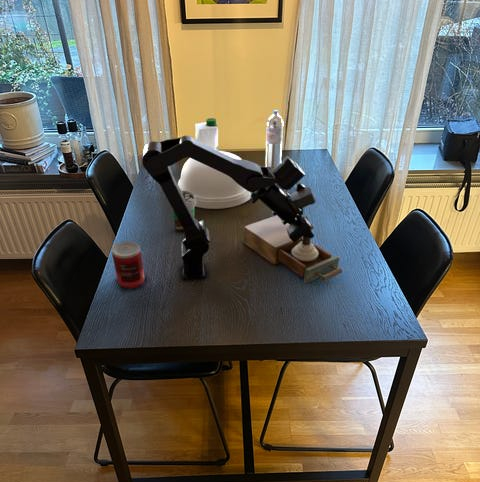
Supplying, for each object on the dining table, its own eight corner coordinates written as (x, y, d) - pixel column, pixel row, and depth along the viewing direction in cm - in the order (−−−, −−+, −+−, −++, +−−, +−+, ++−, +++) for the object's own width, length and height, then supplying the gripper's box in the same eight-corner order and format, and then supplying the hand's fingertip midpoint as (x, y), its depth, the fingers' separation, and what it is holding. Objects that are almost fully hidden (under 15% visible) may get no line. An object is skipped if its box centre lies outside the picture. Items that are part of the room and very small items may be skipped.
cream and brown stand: (321, 260, 132) (325, 232, 126) (294, 262, 131) (297, 233, 125) (314, 245, 138) (317, 218, 132) (288, 247, 137) (291, 220, 131)
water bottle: (261, 170, 195) (264, 109, 179) (275, 167, 197) (279, 107, 181) (269, 176, 190) (272, 114, 174) (283, 173, 192) (287, 112, 176)
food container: (192, 234, 151) (190, 207, 145) (174, 233, 152) (171, 205, 146) (201, 217, 161) (200, 191, 154) (185, 216, 161) (183, 189, 155)
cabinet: (307, 250, 144) (309, 234, 140) (274, 264, 138) (275, 247, 134) (276, 231, 154) (277, 214, 150) (243, 243, 148) (244, 226, 144)
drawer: (347, 275, 132) (349, 263, 129) (316, 290, 126) (318, 277, 124) (304, 248, 144) (305, 236, 141) (274, 260, 138) (275, 248, 135)
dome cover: (187, 214, 163) (184, 177, 154) (166, 182, 184) (162, 148, 175) (268, 200, 172) (270, 164, 163) (239, 171, 194) (239, 138, 185)
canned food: (132, 270, 135) (127, 238, 128) (150, 280, 131) (146, 247, 124) (112, 281, 130) (105, 249, 123) (130, 292, 126) (124, 259, 120)
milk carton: (220, 170, 194) (219, 122, 182) (200, 172, 192) (197, 124, 180) (215, 162, 201) (214, 116, 188) (195, 165, 199) (192, 117, 186)
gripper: (307, 195, 112) (343, 232, 120) (291, 166, 127) (325, 200, 135) (273, 224, 117) (311, 258, 125) (263, 193, 131) (297, 225, 139)
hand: (311, 234), depth 131 cm, fingers closed on cream and brown stand, 3 cm apart
